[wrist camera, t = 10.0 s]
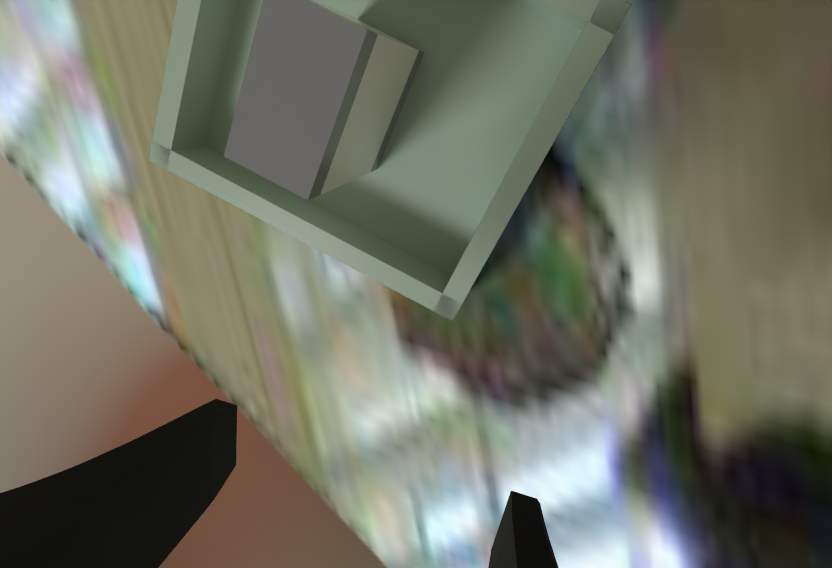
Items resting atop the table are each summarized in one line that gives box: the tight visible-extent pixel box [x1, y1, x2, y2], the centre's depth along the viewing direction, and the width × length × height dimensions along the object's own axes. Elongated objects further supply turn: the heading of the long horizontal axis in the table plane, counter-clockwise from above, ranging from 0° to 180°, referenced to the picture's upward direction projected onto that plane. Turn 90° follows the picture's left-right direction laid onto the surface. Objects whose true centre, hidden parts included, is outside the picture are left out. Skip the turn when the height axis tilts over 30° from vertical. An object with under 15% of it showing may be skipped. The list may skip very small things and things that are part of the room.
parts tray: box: [149, 0, 632, 321], centre depth 16 cm, size 13×11×2 cm
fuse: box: [224, 0, 424, 200], centre depth 15 cm, size 3×4×6 cm, turn 156°
